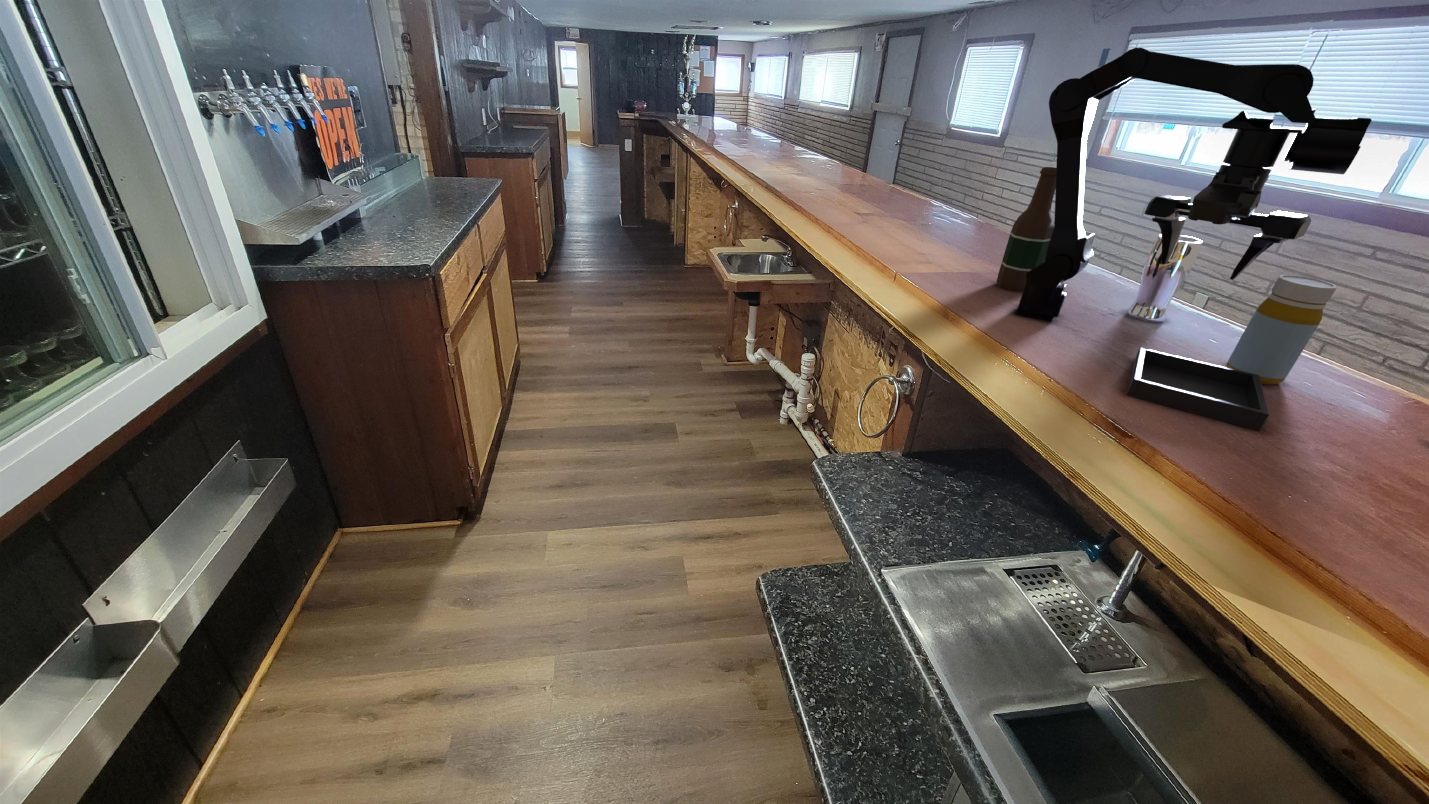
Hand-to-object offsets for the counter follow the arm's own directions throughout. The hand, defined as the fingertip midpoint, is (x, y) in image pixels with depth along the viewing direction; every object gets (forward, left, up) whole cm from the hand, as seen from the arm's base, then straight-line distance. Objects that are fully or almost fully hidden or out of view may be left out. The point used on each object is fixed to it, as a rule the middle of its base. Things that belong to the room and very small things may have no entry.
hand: (1196, 271), depth 89 cm
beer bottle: (-27, +18, -13) cm, 35 cm away
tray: (+4, -18, -13) cm, 23 cm away
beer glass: (-3, +16, -13) cm, 21 cm away
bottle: (+12, -4, -13) cm, 18 cm away
